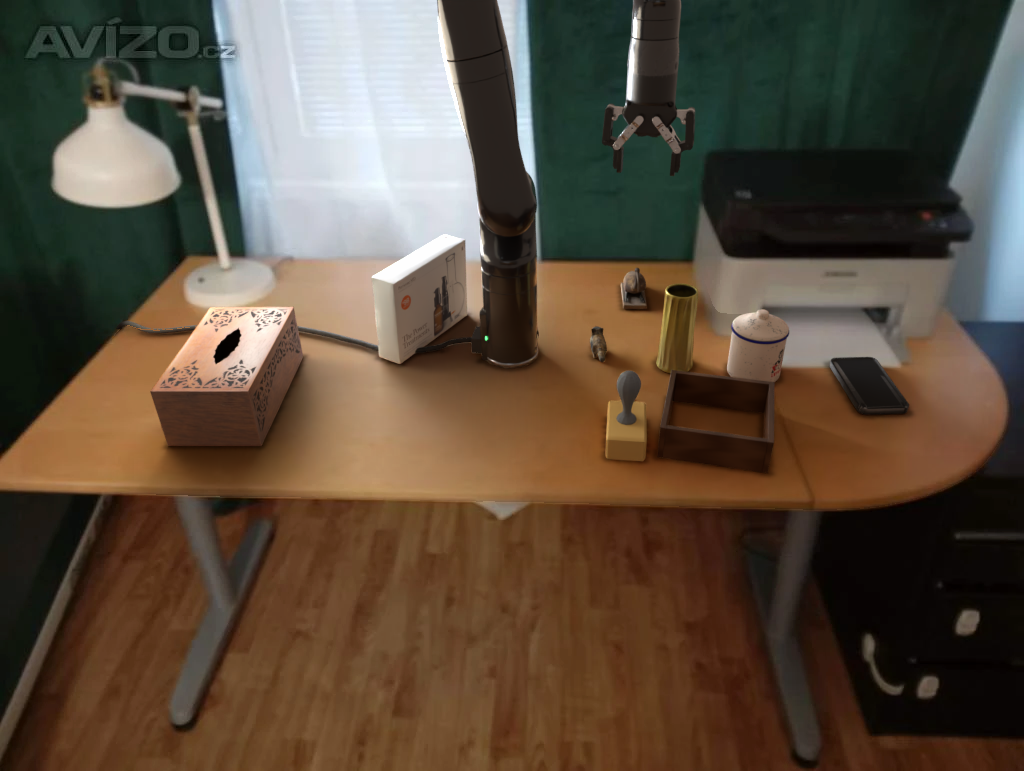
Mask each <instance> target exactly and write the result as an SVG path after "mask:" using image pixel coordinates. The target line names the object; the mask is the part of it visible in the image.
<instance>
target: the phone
mask: <svg viewBox="0 0 1024 771" xmlns="http://www.w3.org/2000/svg"><path fill="white" fill-rule="evenodd" d="M829 368H830V369H831V370H830V371H832V373H833V375H834V376H835V378H836V379H837V381H838V383H839V384H840V386H841V388H842V390H844V392H845V394H846V396H847V397H848V399H849V400H850V402H851V403H852V405H853V407H854V408H855V410H856V411H857V413H859V414H860V415H865V416H872V415H873V416H874V415H875V416H877V415H905V414H907V413H908V411H909V408H910V404H909V402H908V400H907V399H906V398H905V396H904V395H903V393H902V392H901V391H900V389H899V388H898V386H897V385H896V383H894V381H893V380H892V378H891V377H890V375H889V374H888V373H887V371H886V370H885V368H884V367H883V366H882V365H881V363H880V361H879V360H878V359H877V358H876V357H873V356H849V357H847V356H846V357H845V356H844V357H832V358H831V359H830V361H829Z"/></svg>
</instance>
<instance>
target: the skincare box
mask: <svg viewBox="0 0 1024 771" xmlns="http://www.w3.org/2000/svg"><path fill="white" fill-rule="evenodd" d="M466 250H467V249H466V239H464V238H461V237H457V236H453V235H450V234H447V233H446V234H445V233H444V234H442V235H439V236H438V237H436V238H434V239H433V240H431V241H430V242H428V243H427V244H425V245H423V246H421V247H419V248H418V249H416V250H415V251H413V252H411V253H410V254H408V255H406V256H404V257H403V258H401V259H400V260H398V261H396V262H394V263H392V264H391V265H389V266H387V267H386V268H384V269H383V270H380V271H379V272H377V273H376V274H373V275H372V276H371V278H370V279H371V286H372V296H373V306H374V307H373V308H374V318H375V327H376V337H377V345H378V350H379V351H378V357H379V358H381V359H384V360H386V361H389V362H392V363H395V364H399V365H401V364H403V363H404V362H405V361H407V360H408V359H410V357H412V356H414V355H416V353H415V351H416V349H417V348H421V347H427V345H428V344H430V343H431V342H433V341H434V340H435V339H436V338H438V337H439V336H441V335H442V334H444V333H445V332H446V331H448V330H450V328H452V327H453V326H455V325H456V324H457V323H458V322H460V321H461V320H462V319H464V318H466V317H467V316H468V292H467V290H468V288H467V253H466V252H467V251H466Z"/></svg>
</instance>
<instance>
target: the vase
mask: <svg viewBox="0 0 1024 771" xmlns="http://www.w3.org/2000/svg"><path fill="white" fill-rule="evenodd" d="M698 303H699V289H698V288H697V287H696V286H694V285H693V284H689V283H688V284H687V283H683V282H681V283H680V282H679V283H673V284H669V285H668V286H666V288H665V291H664V301H663V311H662V320H661V329H660V336H659V344H658V351H657V358H656V361H655V363H656V364H655V365H656V367H657V368H658V369H659V370H660V371H662V372H664V373H667V374H671V370H676V371H685V372H690V371H691V370H692V369H693V366H694V362H693V358H694V343H695V342H694V340H695V329H696V328H695V327H696V320H697V313H698V312H697V311H698Z"/></svg>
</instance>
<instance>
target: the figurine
mask: <svg viewBox="0 0 1024 771" xmlns="http://www.w3.org/2000/svg"><path fill="white" fill-rule="evenodd" d="M640 271H641V270H640V268H639V267H635V268H634V270H630V271H628V272H627V273H626V274H625V275H624V278H623V282H620V291H621V292H620V293H621V300H622V309H623V310H647V309H648V304H647V298H646V292H645V291H646V289H647V288H646V287H647V281H646V278H645V276H644V275H643V274H642V273H641V272H640Z"/></svg>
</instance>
